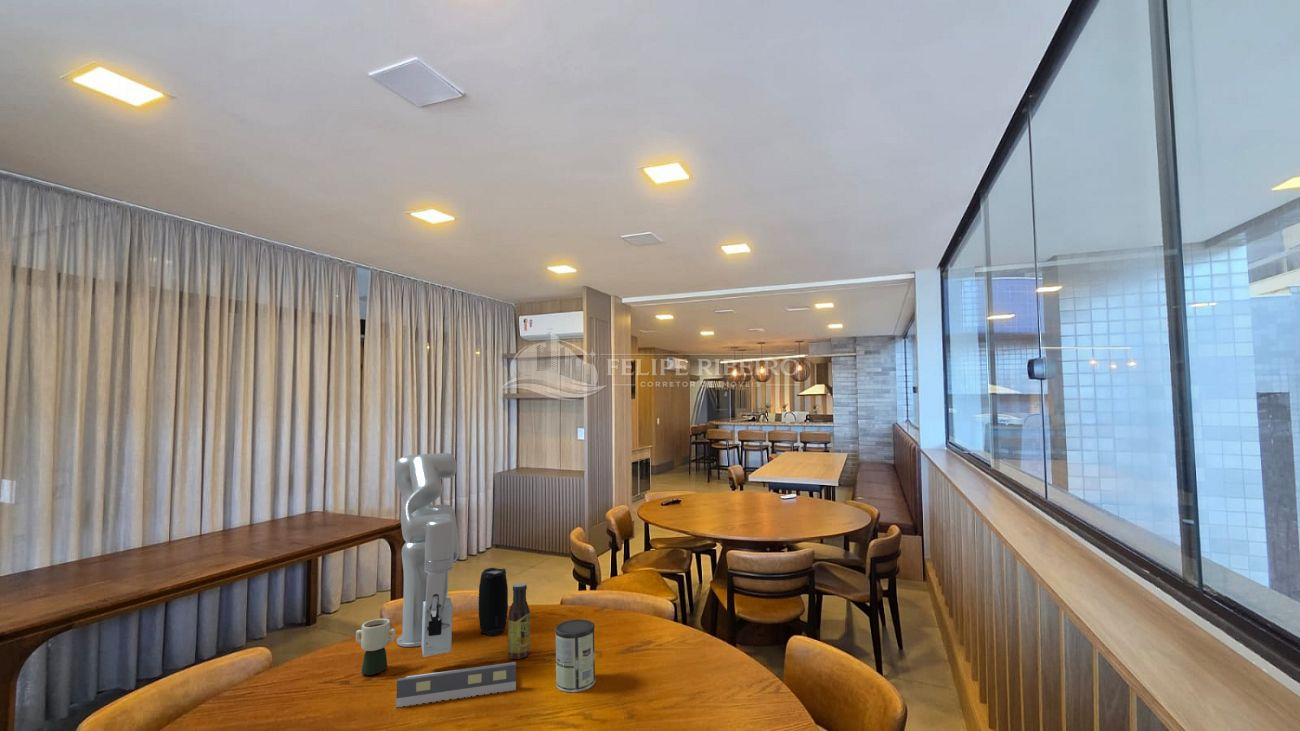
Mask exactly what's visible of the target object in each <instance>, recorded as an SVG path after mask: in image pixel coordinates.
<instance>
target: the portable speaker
mask: <svg viewBox="0 0 1300 731" xmlns="http://www.w3.org/2000/svg"><path fill="white" fill-rule="evenodd" d="M507 580H508V579H507V571H506V568H498V567H497V568H495V567H488V568H485V569H484V570H483V571H482V572H481V574H480V579H479V584H478V585H479V586H478V621H479V628H480V634H481V635H482V634H483V635H484V634H487V635H488V636H489V637H495V636H499V635H501V634H502V633H503V631H504V630H505V629H506V627H507V620H508V613H509V610H508V609H509V596H508V595H509V594H508V593H509V591H508V590H509V588H508V581H507ZM503 629H504V630H503ZM498 634H499V635H498ZM494 635H495V636H494Z"/></svg>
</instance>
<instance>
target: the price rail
mask: <svg viewBox="0 0 1300 731" xmlns="http://www.w3.org/2000/svg"><path fill="white" fill-rule="evenodd" d="M509 663H510V664H503V663H501V664H502V665H496V664H494V665H495V666H489V665H487V666H488V667H481V666H479V667H480V668H474V667H472V668H473V669H466V668H465V669H466V670H459V669H457V670H458V671H452V670H450V671H451V672H444V671H442V672H443V673H437V672H435V673H436V674H430V673H428V674H429V675H422V674H420V675H421V676H415V675H413V676H414V677H407V676H406V677H407V678H406V677H401V678H400V677H399V678H397V680H396V698H403V697H410V696H417V695H424V694H431V693H438V692H445V691H452V690H459V689H466V688H473V687H480V686H487V685H493V684H500V683H507V682H514V681H516V682H517V662H516V663H511V662H509ZM396 698H395V699H396Z"/></svg>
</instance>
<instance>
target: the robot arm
mask: <svg viewBox="0 0 1300 731" xmlns="http://www.w3.org/2000/svg"><path fill="white" fill-rule="evenodd" d="M457 466H458V464H457V460H456V458H455V456H454V455H453V454H452V453H449V452H441V453H424V454H423V453H422V454H411V455H405V456H402V457H400V458H398V459H397V460H396V462H395V464H394V477H395V482H396V484H397V488H398V489H399V492H400V494H401V497H402V501H403V503H402V504H403V505H402V508H401V511H400V525H401V526H400V527H401V533H402V534H401V535H402V539H403V541H405V543H404V544H403V546H402V548H401V560H402V561H401V562H402V569H403V594H402V595H403V598H402V599H403V600H402V601H403V602H402V605H403V606H402V630H401V631H402V633H401V634H400V635H398V637H397V638H396V644H397V645H398V646H399V647H403V648H412V647H420V646H421V644H422V617H423V602H425V610H426V611H427V610H429V609H430V618H429V634H428V635H429V636H435V635H441V628H442V619H441V609H443V608H444V606H445V603H446V600H447V598H448V593H449V578H450V577H449V572H450V571H451V570H453V569H454V563H455V562H456V561H457V560H458V558H459V555H460V544H459V536H458V535H459V533H458V526H457V518H456V512H455V509H454V508H453V507H452V505H449V504H432V503H433V502H434V501H436V500H438V498H440V497H441V495H442V494H443V485H442V482H441V479H452V478H454V477H455V475H456V473H457V469H458V468H457ZM437 606H440V607H437ZM430 607H431V608H430ZM437 611H439V613H438V612H437Z"/></svg>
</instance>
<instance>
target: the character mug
mask: <svg viewBox="0 0 1300 731" xmlns="http://www.w3.org/2000/svg"><path fill="white" fill-rule="evenodd" d="M360 635H361V638H360ZM395 641H396V629H395V628H391V621H390V619H388V618H376V619H371V620H368V621H365V622H363V623H362V624H361V629H358V630H356V632H355V642H356V643H360V647H361V650H362V651H364V652H365V653H364V654H363V660H362V666H361V673H362V674H363V675H366V676H371V675H376V674H378V673H380V672H382V671H384V670H386V669H387V668H388V658H387V650H386V647H387V646H388V645H389V643H390V642H395Z"/></svg>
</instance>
